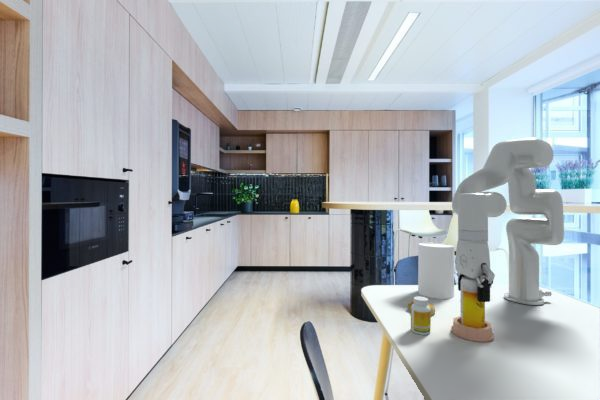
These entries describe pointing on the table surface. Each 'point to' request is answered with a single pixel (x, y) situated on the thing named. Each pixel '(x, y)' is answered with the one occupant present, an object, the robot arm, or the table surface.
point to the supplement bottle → (420, 316)
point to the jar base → (472, 331)
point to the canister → (436, 270)
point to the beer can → (471, 304)
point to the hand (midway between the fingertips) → (473, 295)
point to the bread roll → (428, 305)
